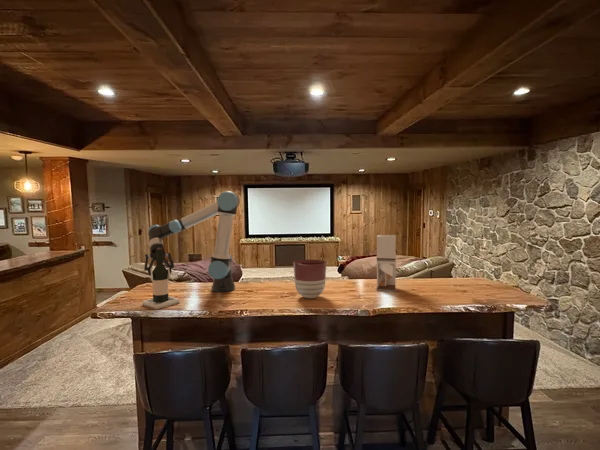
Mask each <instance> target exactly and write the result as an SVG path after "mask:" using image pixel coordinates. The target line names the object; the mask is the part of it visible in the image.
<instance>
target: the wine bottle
mask: <svg viewBox="0 0 600 450" xmlns="http://www.w3.org/2000/svg"><path fill="white" fill-rule="evenodd" d="M155 262H156V265H155V266H154V269H152V274H153V281H151V282H152V298H153V302H155V303H162V302H166V301H168V300H169V279H168V270H167V267H166V265H165V264H164V263H163V251H162V248H157V250H156V261H155Z"/></svg>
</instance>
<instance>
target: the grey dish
mask: <svg viewBox="0 0 600 450" xmlns="http://www.w3.org/2000/svg"><path fill="white" fill-rule="evenodd" d="M141 303H142V306H143V305H144V307H146V308H147V307H148V308H151V309H154V310H160V309H163V308H166V307H171V306H174V305H179V304H180V298H177V297H173V296H169V300H168V301H166V302H162V303H155V302H153V297H152V298H149V299H146V300H142V302H141Z"/></svg>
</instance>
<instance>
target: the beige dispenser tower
mask: <svg viewBox="0 0 600 450" xmlns="http://www.w3.org/2000/svg"><path fill="white" fill-rule="evenodd" d="M396 239H397V236H396V235H394V234H393V235H392V234H377V235H376V292H377V291H378V292H389V293H390V292H391V293H392V292H393V293H395V292H396V280H397V278H396V275H397V274H396V273H397V271H396V269H397V268H396V265H397V264H396V263H397V262H396V261H397V257H396V256H397V255H396V250H397V248H396V247H397V241H396Z"/></svg>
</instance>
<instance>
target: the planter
mask: <svg viewBox="0 0 600 450" xmlns="http://www.w3.org/2000/svg"><path fill="white" fill-rule="evenodd" d="M326 272H327V261H325V260H324V259H323V260H321V259H300V260H299V259H298V260H294V261H293V274H294V275H293V276H294V277H293V278H294V286H295V289H296V291H297V293H298V294H299V295H300V296H301V297H303V298H304V299H310V300H311V299H315V298H317V297H319V296H321V294H322V293H323V292H324V291H325V286H326V275H327V273H326Z"/></svg>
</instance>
